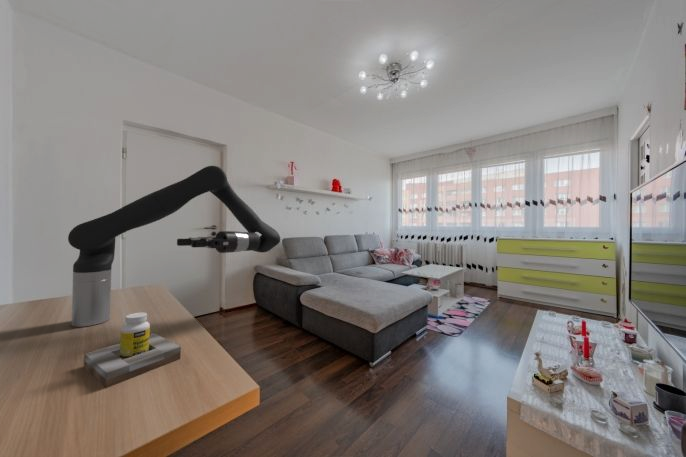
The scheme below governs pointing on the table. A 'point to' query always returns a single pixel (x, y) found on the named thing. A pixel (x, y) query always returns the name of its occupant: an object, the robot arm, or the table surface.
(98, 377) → the mount block
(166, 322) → the table surface
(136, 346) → the supplement bottle
